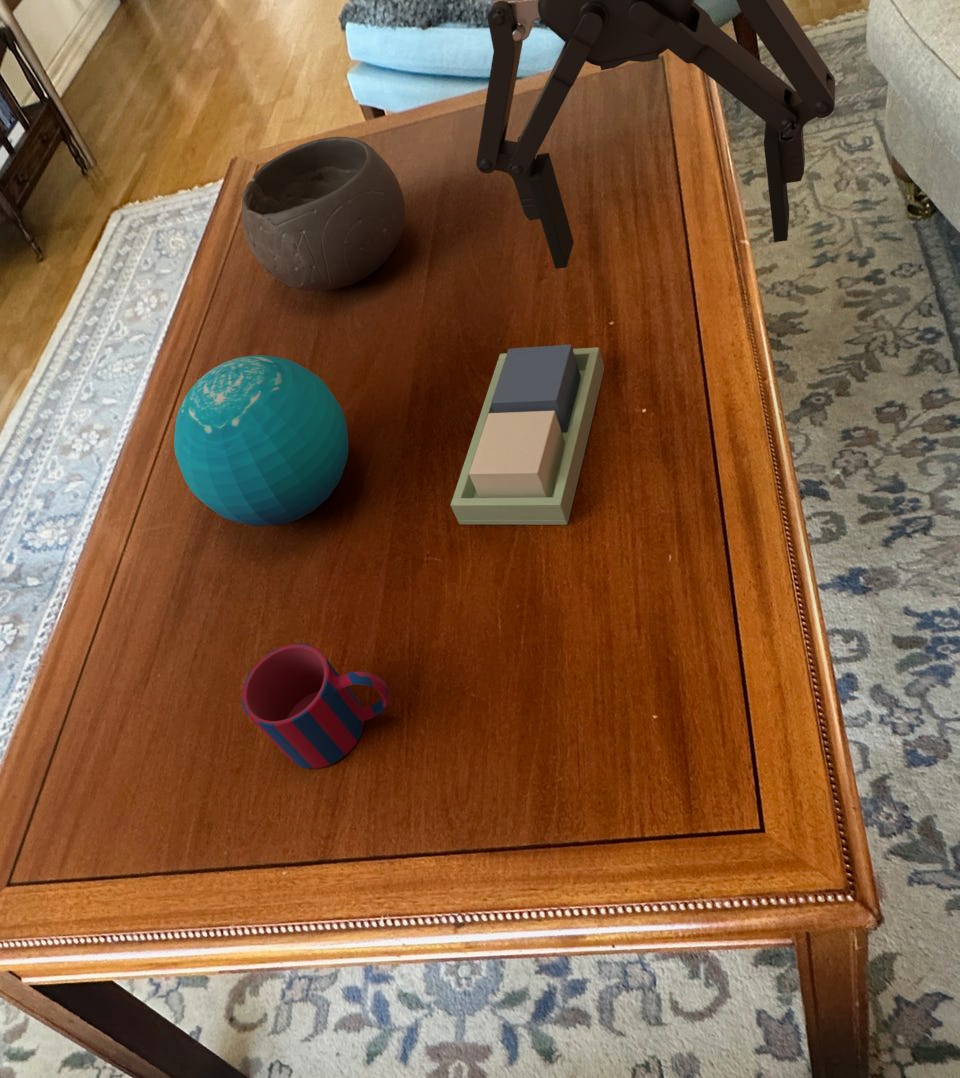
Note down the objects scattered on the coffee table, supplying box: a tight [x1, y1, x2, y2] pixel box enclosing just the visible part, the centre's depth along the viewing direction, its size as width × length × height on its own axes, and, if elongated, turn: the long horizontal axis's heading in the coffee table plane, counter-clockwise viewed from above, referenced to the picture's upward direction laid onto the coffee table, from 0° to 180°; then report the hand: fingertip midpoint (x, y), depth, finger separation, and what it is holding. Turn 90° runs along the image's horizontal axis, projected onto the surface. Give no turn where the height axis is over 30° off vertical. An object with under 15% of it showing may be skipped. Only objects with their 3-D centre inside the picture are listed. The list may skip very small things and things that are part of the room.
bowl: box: [241, 136, 406, 292], centre depth 110 cm, size 18×18×13 cm
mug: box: [241, 642, 391, 770], centre depth 71 cm, size 7×10×7 cm
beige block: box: [469, 411, 565, 498], centre depth 83 cm, size 7×6×4 cm
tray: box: [450, 346, 605, 526], centre depth 86 cm, size 19×10×3 cm, turn 166°
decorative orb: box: [173, 354, 349, 527], centre depth 86 cm, size 15×15×15 cm
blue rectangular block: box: [491, 344, 581, 432], centre depth 87 cm, size 7×6×4 cm
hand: (668, 242), depth 61 cm, fingers open, 13 cm apart
